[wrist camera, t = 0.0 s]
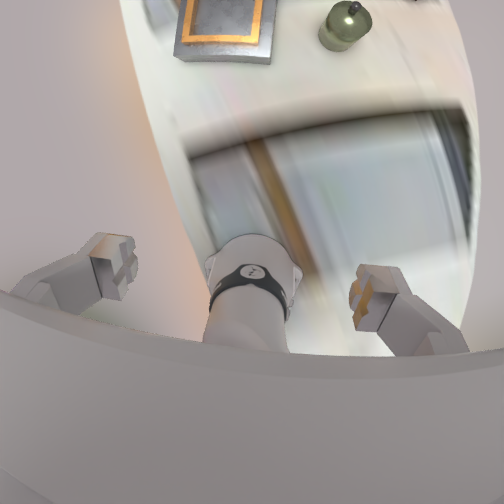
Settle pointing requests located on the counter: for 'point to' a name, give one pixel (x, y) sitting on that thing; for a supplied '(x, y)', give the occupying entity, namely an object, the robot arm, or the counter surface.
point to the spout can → (344, 26)
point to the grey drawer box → (225, 31)
